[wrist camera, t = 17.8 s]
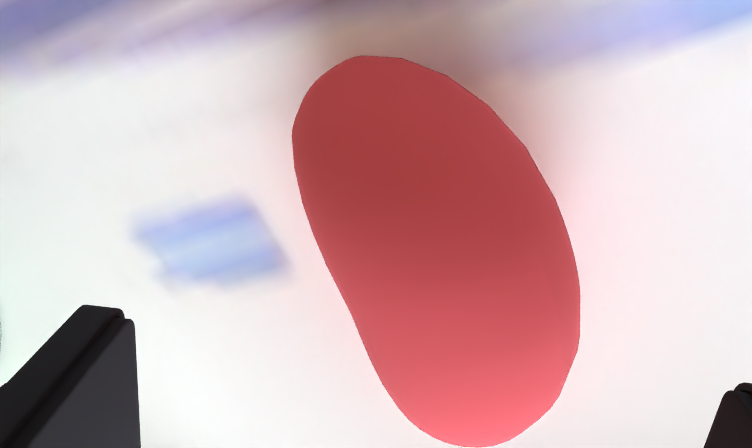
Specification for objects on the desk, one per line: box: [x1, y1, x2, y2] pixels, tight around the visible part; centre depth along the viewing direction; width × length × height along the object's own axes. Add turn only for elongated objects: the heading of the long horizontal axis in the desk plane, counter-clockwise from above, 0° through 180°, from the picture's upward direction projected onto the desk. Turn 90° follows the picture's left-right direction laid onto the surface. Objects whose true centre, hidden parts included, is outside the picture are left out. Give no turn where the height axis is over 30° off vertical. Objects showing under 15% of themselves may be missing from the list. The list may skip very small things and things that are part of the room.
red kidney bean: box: [292, 56, 580, 447], centre depth 14 cm, size 5×9×6 cm, turn 10°
